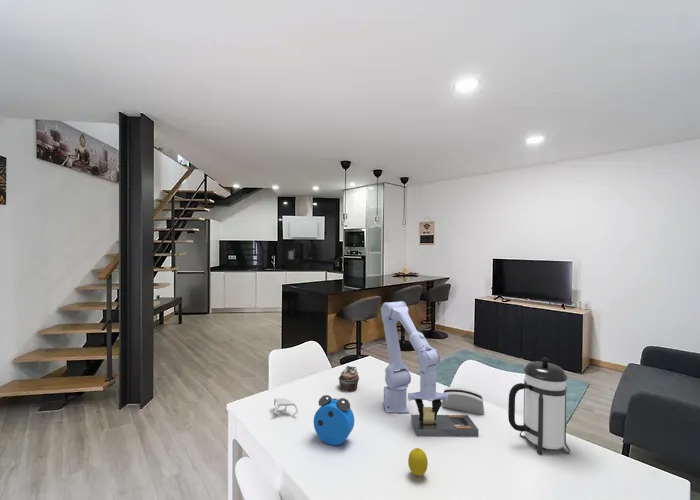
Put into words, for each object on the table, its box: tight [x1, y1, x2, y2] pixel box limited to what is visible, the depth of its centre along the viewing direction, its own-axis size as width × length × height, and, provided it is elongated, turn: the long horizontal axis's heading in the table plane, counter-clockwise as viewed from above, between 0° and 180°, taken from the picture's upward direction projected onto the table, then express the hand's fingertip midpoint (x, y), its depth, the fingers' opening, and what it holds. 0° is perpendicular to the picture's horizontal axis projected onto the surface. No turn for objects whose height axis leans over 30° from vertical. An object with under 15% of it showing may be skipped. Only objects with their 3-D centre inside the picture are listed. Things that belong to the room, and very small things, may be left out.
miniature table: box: [272, 397, 299, 419], centre depth 127 cm, size 12×8×5 cm
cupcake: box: [338, 365, 360, 393], centre depth 152 cm, size 10×10×10 cm
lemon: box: [407, 447, 429, 477], centre depth 94 cm, size 6×6×8 cm
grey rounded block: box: [441, 387, 485, 415], centre depth 134 cm, size 17×5×10 cm, turn 70°
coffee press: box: [507, 356, 571, 455], centre depth 110 cm, size 17×16×30 cm
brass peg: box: [421, 406, 435, 426], centre depth 119 cm, size 4×4×7 cm
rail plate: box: [410, 414, 479, 437], centre depth 119 cm, size 22×10×3 cm, turn 91°
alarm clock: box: [313, 394, 355, 446], centre depth 110 cm, size 13×6×15 cm, turn 70°
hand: (427, 419), depth 119 cm, fingers closed on brass peg, 4 cm apart
